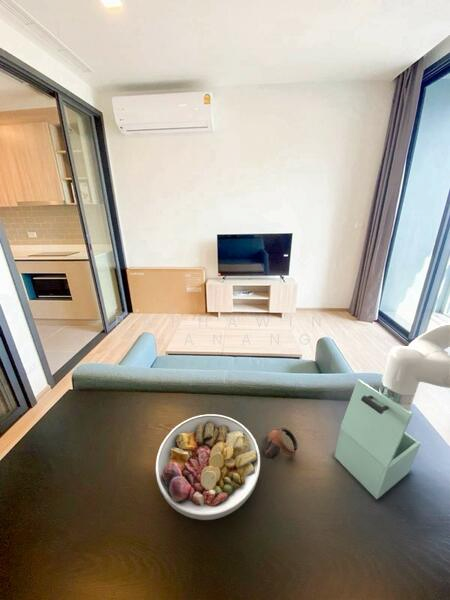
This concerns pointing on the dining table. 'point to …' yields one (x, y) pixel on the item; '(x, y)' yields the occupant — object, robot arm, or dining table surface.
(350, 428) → the cooler lid
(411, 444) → the box
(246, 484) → the bowl
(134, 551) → the dining table surface
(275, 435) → the headphones
